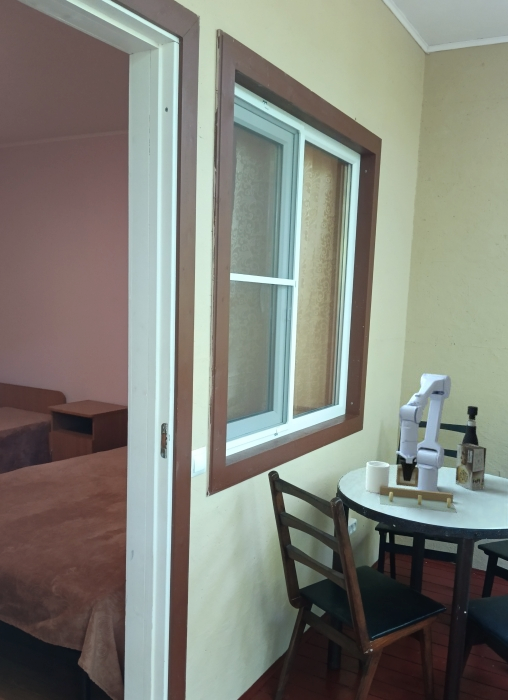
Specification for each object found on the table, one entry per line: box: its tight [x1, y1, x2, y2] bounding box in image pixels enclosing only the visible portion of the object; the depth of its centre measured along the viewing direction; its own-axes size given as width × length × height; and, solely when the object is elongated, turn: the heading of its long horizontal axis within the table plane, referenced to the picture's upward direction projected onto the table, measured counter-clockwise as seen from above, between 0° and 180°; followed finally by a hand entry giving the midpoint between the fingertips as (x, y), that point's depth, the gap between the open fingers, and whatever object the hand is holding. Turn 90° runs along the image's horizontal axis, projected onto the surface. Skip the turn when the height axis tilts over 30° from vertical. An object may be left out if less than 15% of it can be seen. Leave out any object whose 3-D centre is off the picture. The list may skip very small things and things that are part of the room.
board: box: [379, 486, 457, 514], centre depth 195 cm, size 12×25×4 cm, turn 78°
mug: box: [364, 460, 390, 494], centre depth 209 cm, size 12×8×10 cm
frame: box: [395, 464, 419, 488], centre depth 194 cm, size 4×7×6 cm, turn 78°
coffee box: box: [455, 443, 487, 491], centre depth 219 cm, size 9×6×16 cm
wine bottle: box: [461, 405, 480, 446], centre depth 228 cm, size 6×6×30 cm
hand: (406, 478), depth 194 cm, fingers closed on frame, 4 cm apart
